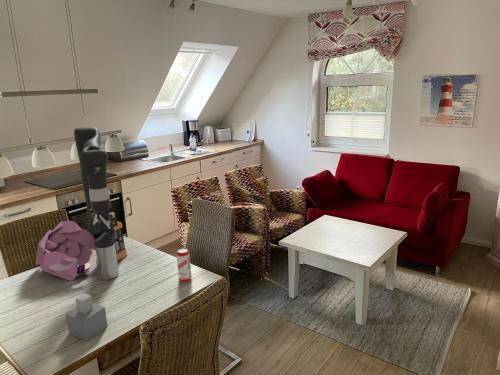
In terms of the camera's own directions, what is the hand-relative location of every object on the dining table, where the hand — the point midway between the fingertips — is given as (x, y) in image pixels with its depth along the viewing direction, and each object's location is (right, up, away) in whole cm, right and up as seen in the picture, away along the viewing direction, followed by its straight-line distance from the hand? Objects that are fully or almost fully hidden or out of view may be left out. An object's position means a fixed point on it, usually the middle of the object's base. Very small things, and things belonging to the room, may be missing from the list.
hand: (105, 234), depth 162 cm
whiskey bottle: (-15, -20, +53) cm, 59 cm away
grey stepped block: (-3, -37, -9) cm, 38 cm away
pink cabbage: (-34, -24, +40) cm, 57 cm away
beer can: (+30, -26, +27) cm, 48 cm away
